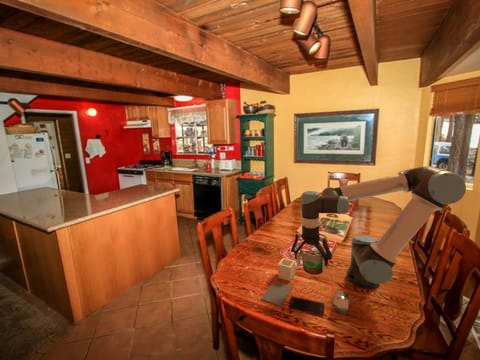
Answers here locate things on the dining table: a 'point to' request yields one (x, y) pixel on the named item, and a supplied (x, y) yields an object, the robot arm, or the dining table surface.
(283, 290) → the felt pad
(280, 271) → the cup
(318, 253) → the food container
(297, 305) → the cell phone
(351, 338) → the dining table surface
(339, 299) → the silver round cylinder
